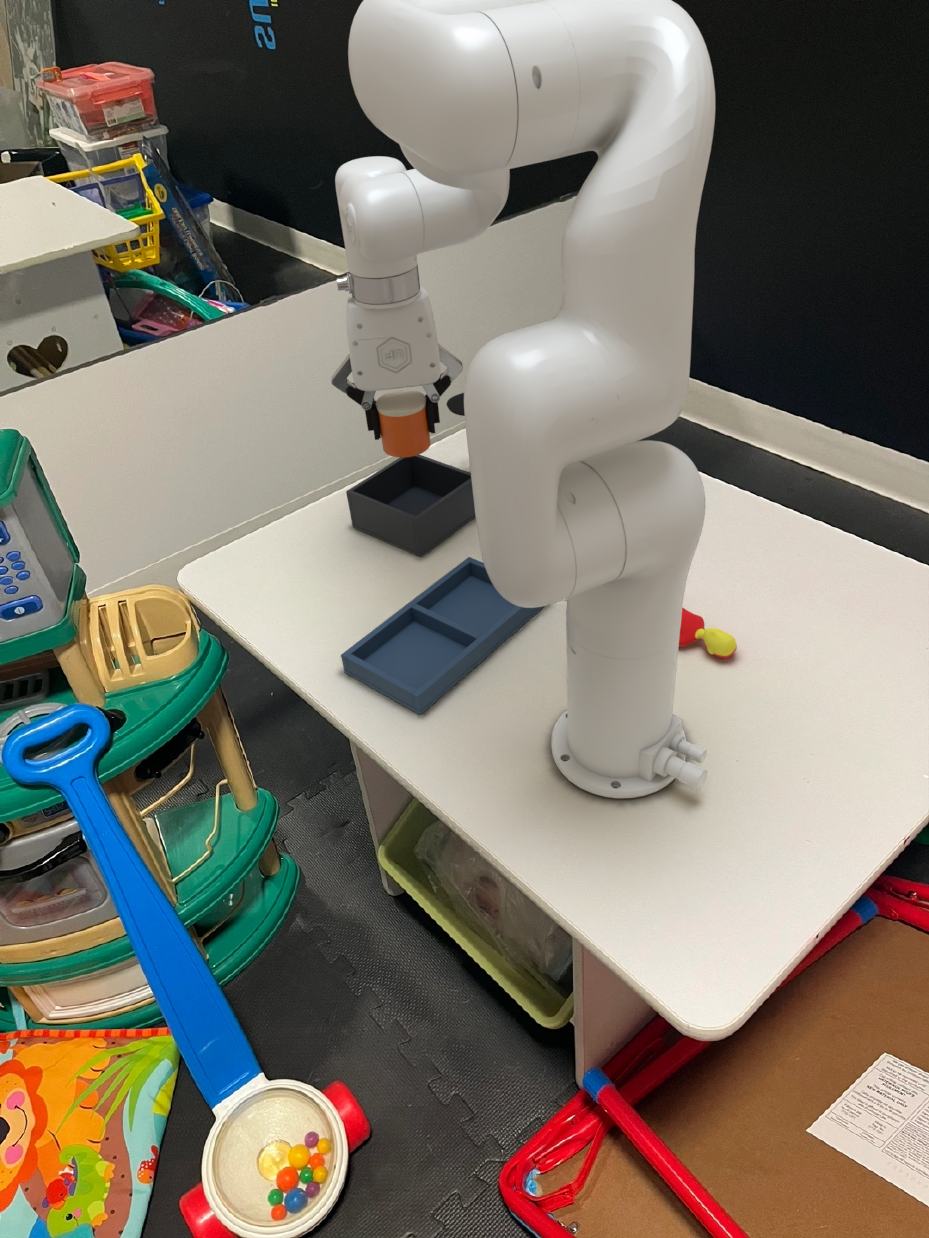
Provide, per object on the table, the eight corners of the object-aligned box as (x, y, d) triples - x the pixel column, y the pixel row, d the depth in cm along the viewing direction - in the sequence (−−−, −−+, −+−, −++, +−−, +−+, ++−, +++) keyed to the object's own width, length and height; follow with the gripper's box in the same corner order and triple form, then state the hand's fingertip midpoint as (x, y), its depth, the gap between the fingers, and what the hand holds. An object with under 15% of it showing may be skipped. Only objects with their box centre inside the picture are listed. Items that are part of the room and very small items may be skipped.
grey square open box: (482, 512, 121) (479, 475, 117) (421, 557, 114) (416, 519, 110) (414, 486, 127) (409, 451, 124) (352, 527, 121) (345, 491, 117)
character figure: (593, 545, 105) (747, 614, 93) (600, 569, 108) (750, 639, 96) (562, 579, 103) (716, 654, 91) (570, 603, 106) (720, 678, 95)
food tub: (441, 441, 113) (436, 396, 109) (408, 462, 109) (402, 416, 105) (405, 429, 116) (399, 385, 112) (372, 449, 112) (365, 404, 109)
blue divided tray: (545, 606, 105) (544, 588, 103) (420, 715, 93) (417, 696, 91) (470, 573, 111) (468, 556, 109) (344, 672, 98) (340, 654, 97)
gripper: (305, 305, 97) (333, 454, 109) (466, 287, 98) (478, 438, 109) (308, 280, 103) (335, 425, 114) (460, 264, 103) (472, 409, 115)
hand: (404, 430), depth 112 cm, fingers closed on food tub, 6 cm apart
